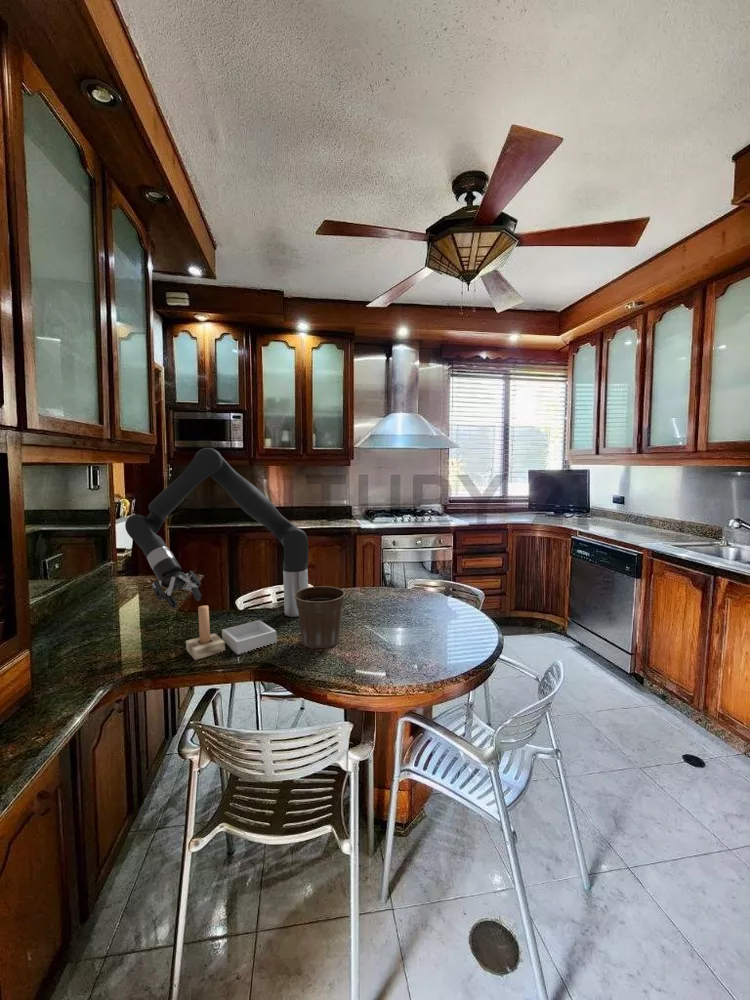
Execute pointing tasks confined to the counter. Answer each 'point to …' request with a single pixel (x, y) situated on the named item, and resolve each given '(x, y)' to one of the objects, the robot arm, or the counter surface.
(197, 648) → the dowel holder
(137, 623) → the counter surface
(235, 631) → the tray
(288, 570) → the robot arm
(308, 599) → the plant pot
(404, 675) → the counter surface
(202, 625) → the dowel
